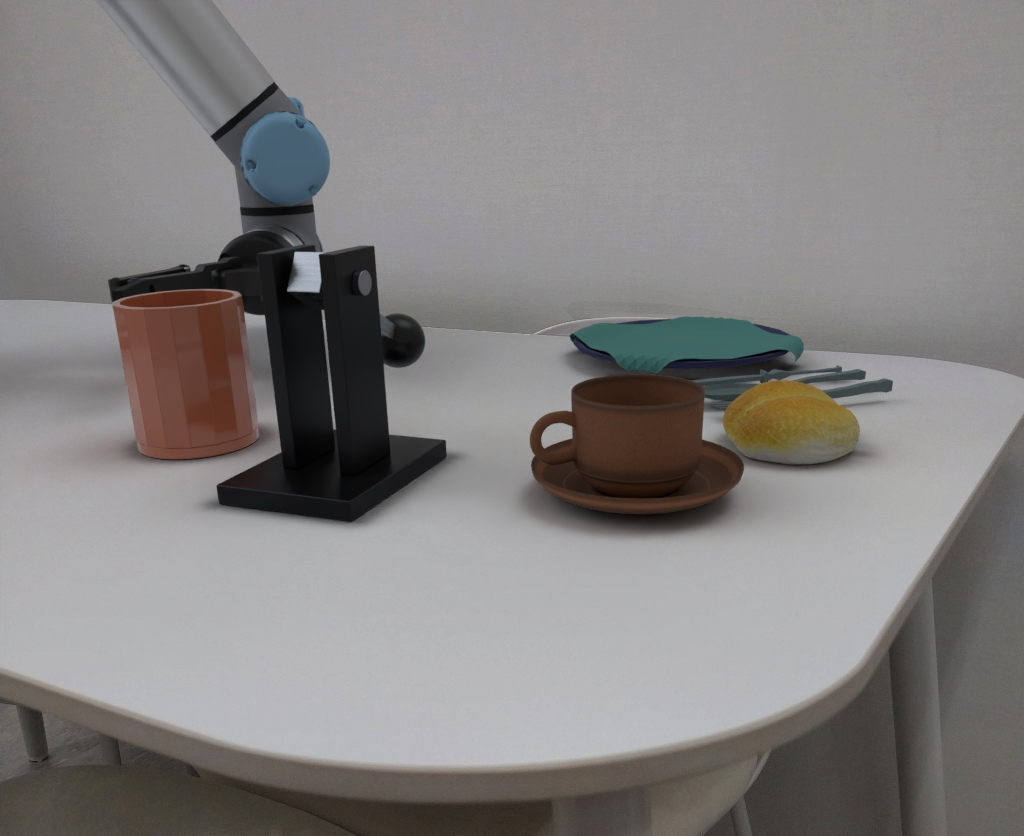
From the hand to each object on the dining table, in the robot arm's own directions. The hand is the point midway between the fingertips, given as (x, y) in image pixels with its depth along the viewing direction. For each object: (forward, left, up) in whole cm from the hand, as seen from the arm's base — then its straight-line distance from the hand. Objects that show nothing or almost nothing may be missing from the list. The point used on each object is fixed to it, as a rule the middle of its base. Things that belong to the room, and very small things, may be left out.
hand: (210, 306), depth 73 cm
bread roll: (+43, +3, -8) cm, 44 cm away
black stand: (+18, -12, -8) cm, 23 cm away
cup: (+4, -8, -8) cm, 12 cm away
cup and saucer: (+36, -9, -8) cm, 38 cm away
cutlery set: (+33, +23, -8) cm, 41 cm away
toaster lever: (+18, -8, 0) cm, 20 cm away
